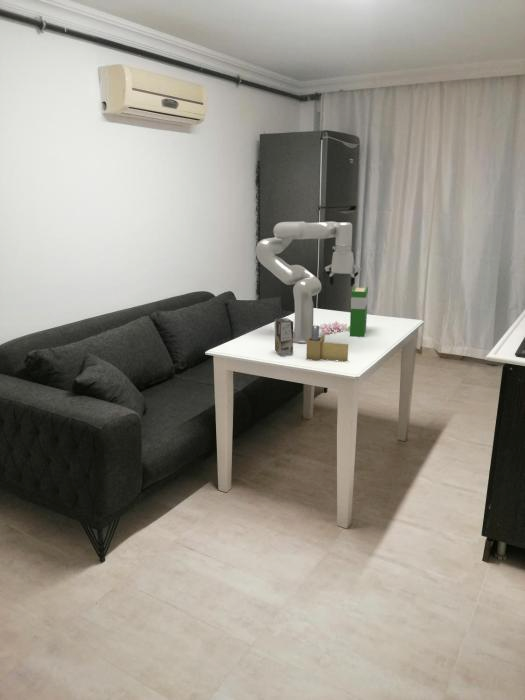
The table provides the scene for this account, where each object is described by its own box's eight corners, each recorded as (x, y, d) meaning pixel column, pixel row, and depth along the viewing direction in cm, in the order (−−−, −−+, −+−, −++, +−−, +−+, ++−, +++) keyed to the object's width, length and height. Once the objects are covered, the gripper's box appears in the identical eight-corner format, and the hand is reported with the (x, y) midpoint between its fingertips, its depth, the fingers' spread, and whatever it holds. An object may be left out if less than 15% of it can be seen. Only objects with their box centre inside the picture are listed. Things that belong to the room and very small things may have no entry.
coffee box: (293, 355, 257) (293, 321, 252) (280, 356, 255) (280, 322, 251) (287, 350, 265) (287, 317, 261) (274, 351, 263) (274, 318, 259)
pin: (310, 358, 251) (310, 326, 247) (312, 356, 254) (312, 325, 250) (317, 359, 250) (318, 327, 246) (319, 357, 253) (320, 325, 249)
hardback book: (352, 328, 307) (354, 286, 301) (366, 329, 306) (368, 286, 299) (349, 336, 291) (351, 291, 284) (363, 337, 289) (365, 292, 283)
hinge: (306, 359, 250) (306, 340, 248) (317, 349, 266) (317, 331, 264) (345, 363, 244) (346, 343, 241) (354, 352, 260) (354, 334, 258)
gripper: (323, 249, 259) (322, 285, 264) (360, 250, 253) (358, 287, 258) (327, 248, 266) (326, 283, 270) (363, 249, 260) (361, 284, 265)
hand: (342, 285), depth 264 cm, fingers open, 9 cm apart
